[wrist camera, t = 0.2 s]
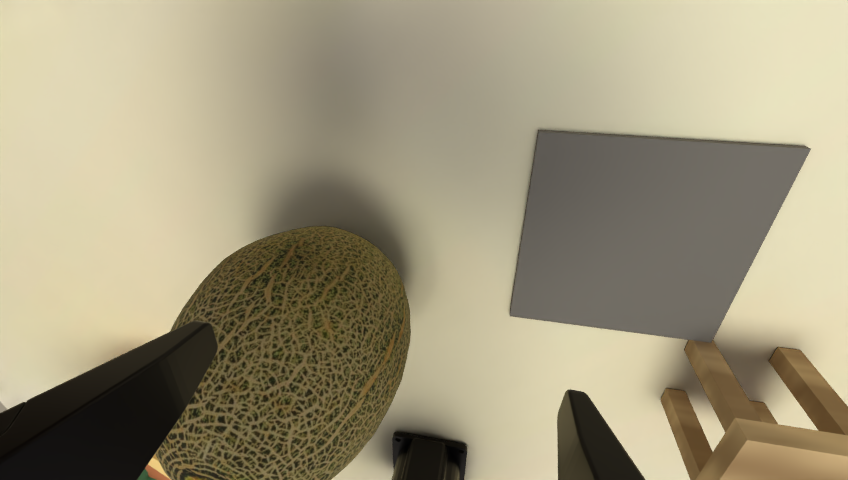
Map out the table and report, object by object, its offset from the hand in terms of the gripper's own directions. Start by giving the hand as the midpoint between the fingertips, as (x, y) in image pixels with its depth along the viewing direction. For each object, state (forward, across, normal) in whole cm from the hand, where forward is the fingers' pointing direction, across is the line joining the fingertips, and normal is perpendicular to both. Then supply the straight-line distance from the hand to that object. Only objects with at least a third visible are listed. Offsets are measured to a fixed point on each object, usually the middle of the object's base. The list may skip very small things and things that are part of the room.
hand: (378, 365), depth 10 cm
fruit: (+15, +6, +8) cm, 18 cm away
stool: (+14, -19, +12) cm, 27 cm away
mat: (+14, -10, +3) cm, 18 cm away
